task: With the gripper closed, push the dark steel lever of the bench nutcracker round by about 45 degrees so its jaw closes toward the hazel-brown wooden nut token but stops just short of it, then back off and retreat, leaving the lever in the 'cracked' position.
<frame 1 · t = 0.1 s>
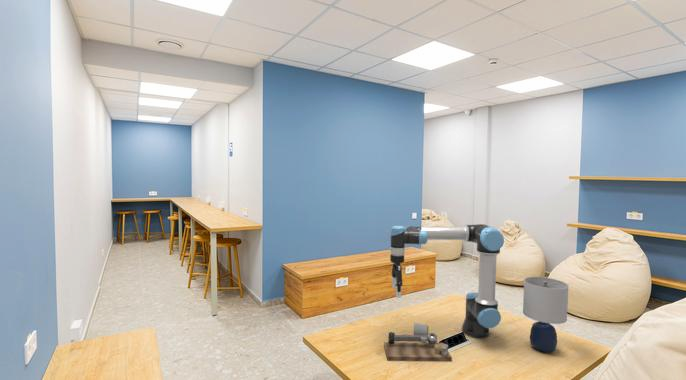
hand: (396, 292, 193), 28 cm above the table, fingers open, 13 cm apart
ceramic mug: (420, 336, 202), on the table
lamp: (542, 349, 189), on the table
nut token: (438, 352, 180), point 2 cm above the table, touching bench
lever: (412, 338, 187), point 6 cm above the table, hinge at 0.0°
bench: (416, 353, 183), on the table
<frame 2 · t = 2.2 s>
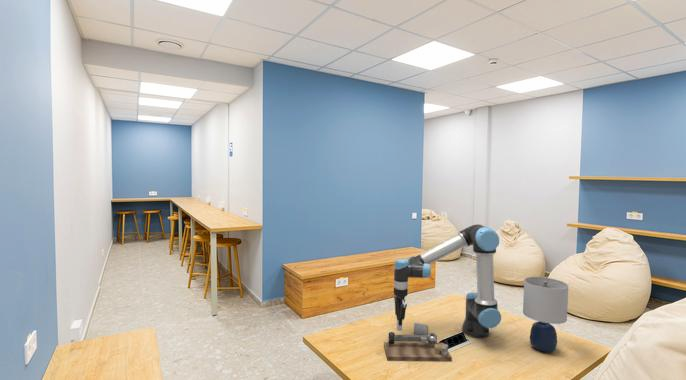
hand: (399, 330, 194), 7 cm above the table, fingers closed
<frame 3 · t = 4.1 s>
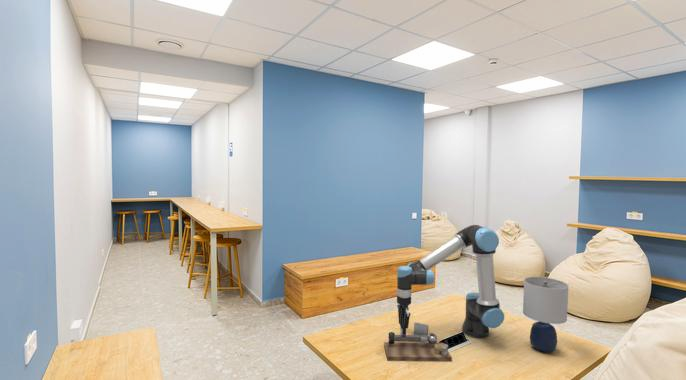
hand: (403, 339, 189), 4 cm above the table, fingers closed
lever: (412, 338, 187), point 6 cm above the table, hinge at 0.1°, touching gripper
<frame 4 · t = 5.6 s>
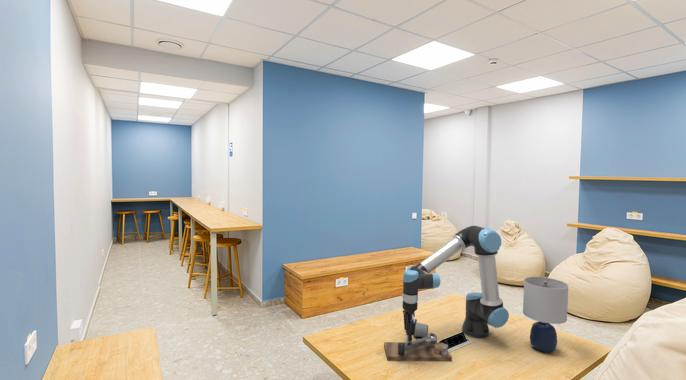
hand: (408, 346, 181), 5 cm above the table, fingers closed
lever: (418, 343, 181), point 6 cm above the table, hinge at 32.0°, touching gripper
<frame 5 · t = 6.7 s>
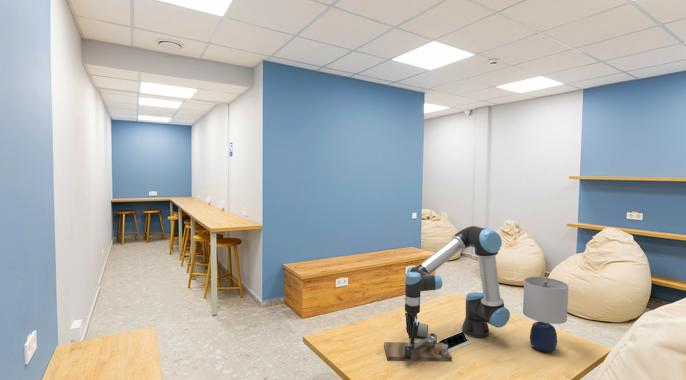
hand: (411, 349, 178), 4 cm above the table, fingers closed
lever: (421, 345, 180), point 6 cm above the table, hinge at 43.5°, touching gripper
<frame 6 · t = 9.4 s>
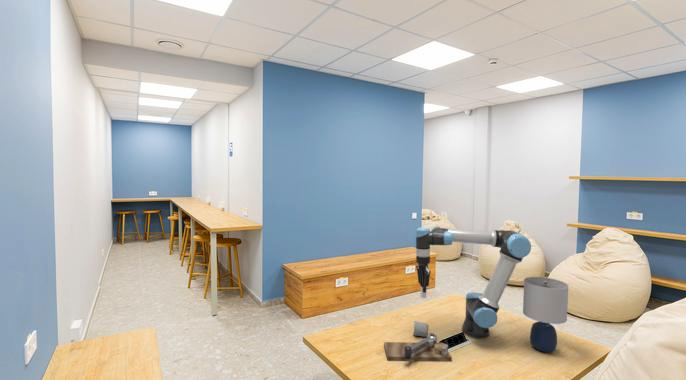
hand: (423, 297, 197), 24 cm above the table, fingers closed
lever: (421, 345, 180), point 6 cm above the table, hinge at 43.6°
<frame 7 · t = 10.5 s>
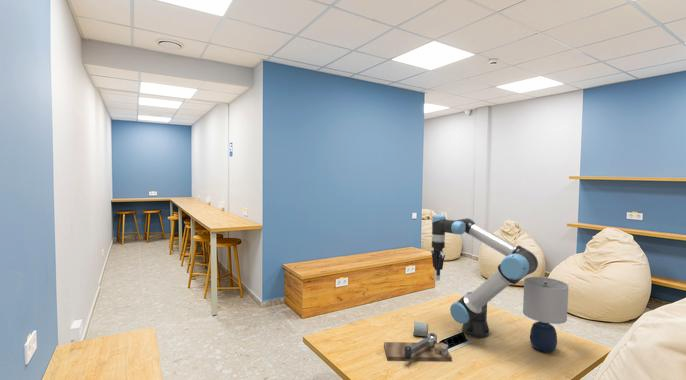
hand: (437, 280, 211), 29 cm above the table, fingers closed
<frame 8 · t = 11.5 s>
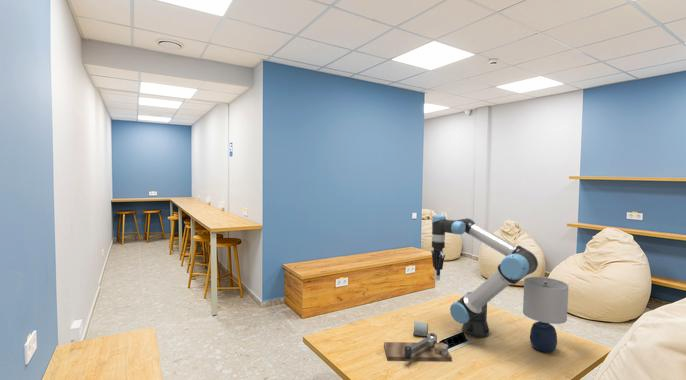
hand: (437, 280, 211), 29 cm above the table, fingers closed
at the end: lever at +44° (first picture: +0°); nut token moved 0.0 cm from its start; lever touching nothing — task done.
